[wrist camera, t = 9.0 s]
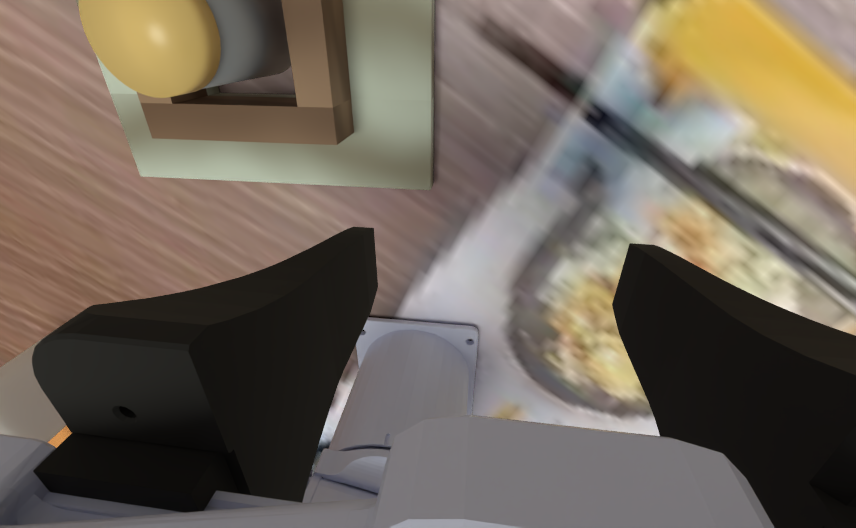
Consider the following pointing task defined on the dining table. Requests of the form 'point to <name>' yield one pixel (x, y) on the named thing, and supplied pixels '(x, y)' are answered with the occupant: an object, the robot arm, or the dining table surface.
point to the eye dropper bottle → (26, 401)
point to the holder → (307, 106)
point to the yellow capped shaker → (186, 42)
